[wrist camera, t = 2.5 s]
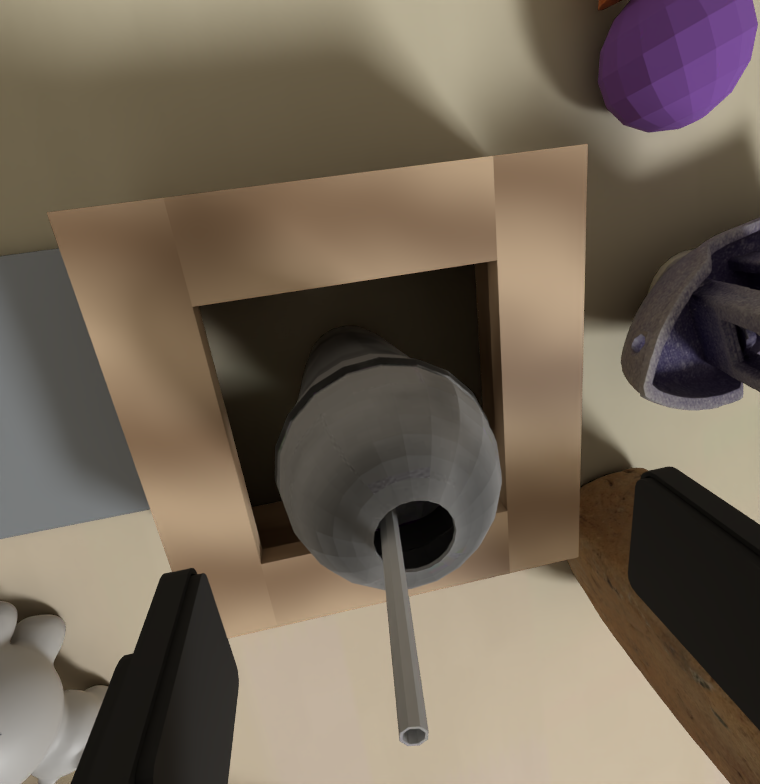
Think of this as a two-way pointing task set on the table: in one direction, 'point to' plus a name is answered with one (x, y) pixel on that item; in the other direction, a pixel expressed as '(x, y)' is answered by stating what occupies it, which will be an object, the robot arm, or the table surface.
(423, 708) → the beverage cup
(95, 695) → the chubby cartoon animal
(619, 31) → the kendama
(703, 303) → the toy boat
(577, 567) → the block
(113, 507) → the mat
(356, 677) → the table surface
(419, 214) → the box
